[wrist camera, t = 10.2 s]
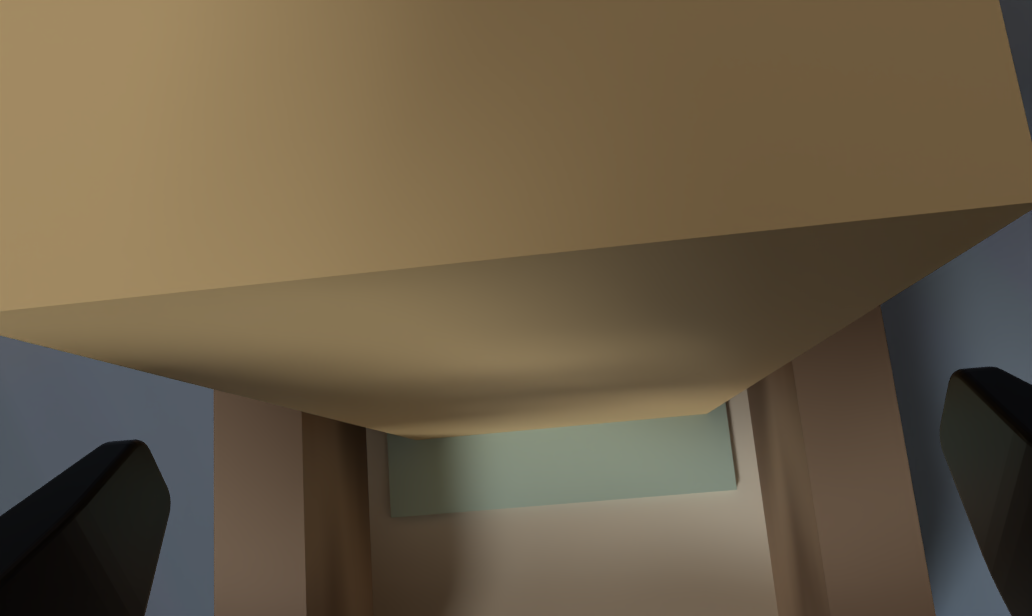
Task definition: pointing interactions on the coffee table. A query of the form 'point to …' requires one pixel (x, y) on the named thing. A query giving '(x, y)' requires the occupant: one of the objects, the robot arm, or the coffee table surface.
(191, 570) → the coffee table surface
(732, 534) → the brown open-ended tray
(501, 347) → the pillar
